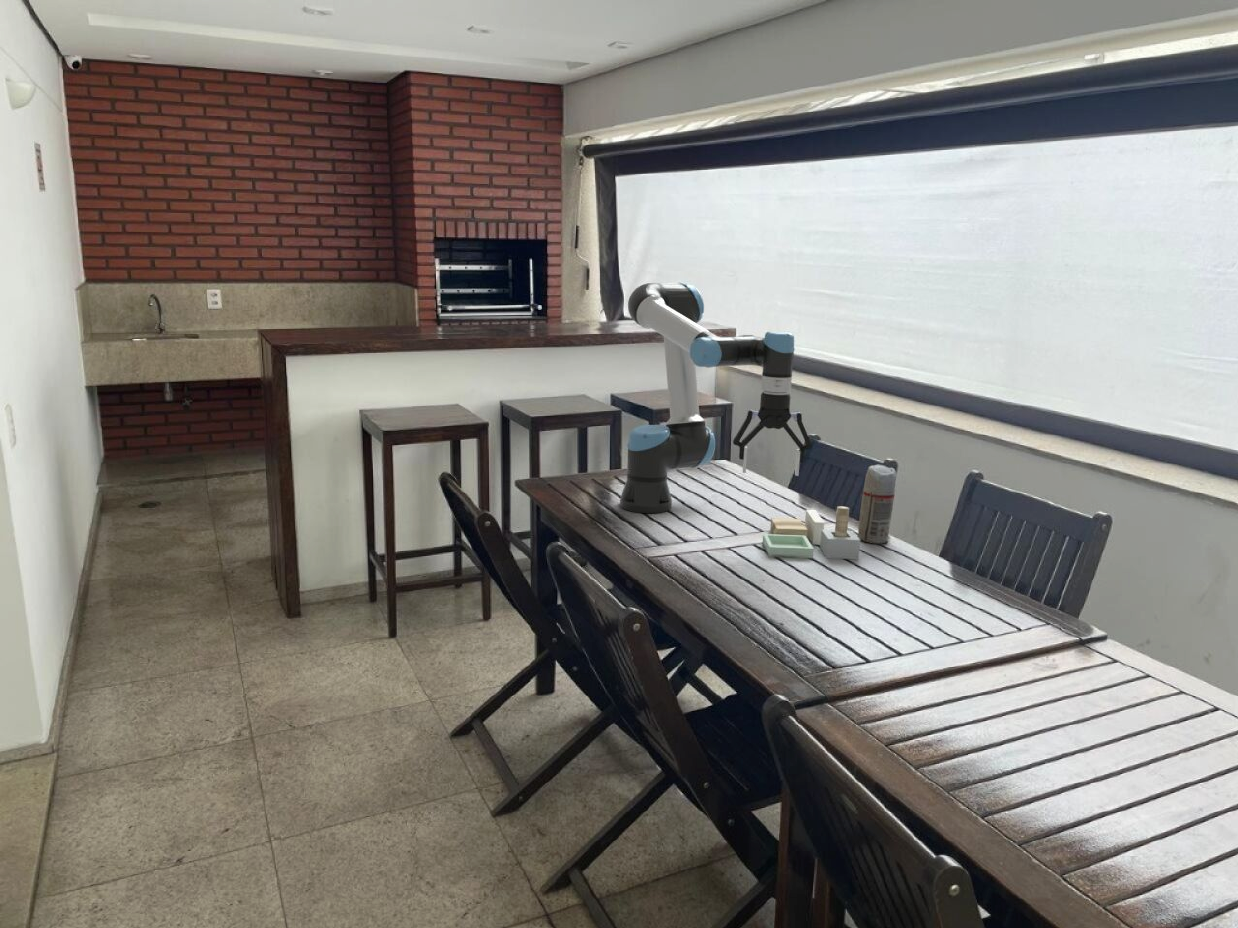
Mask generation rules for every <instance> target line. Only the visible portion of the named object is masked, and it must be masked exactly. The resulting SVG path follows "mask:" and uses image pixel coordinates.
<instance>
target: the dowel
mask: <svg viewBox="0 0 1238 928" xmlns="http://www.w3.org/2000/svg"><path fill="white" fill-rule="evenodd" d="M835 515H836V516H835V526H834V530H835V536H834V537H847V530H848V528H849V527H848V525H849V516H850V507H847V506H837V507H836V514H835Z"/></svg>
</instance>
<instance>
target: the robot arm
mask: <svg viewBox="0 0 1238 928" xmlns="http://www.w3.org/2000/svg"><path fill="white" fill-rule="evenodd" d="M627 310H628V314H629V316H630V318H631V319H632V320H633V321H634V322H635V324H636V323H637V325H639V326H641V327H642V328H644V329H647V330H648V329H652V330H653V331H655V332H657V333H658V334H659V335H661V336H662V337H663V345H664V356H665V368H666V381H667V382H666V383H667V392H668V403H669V416H670V418H669V419H667V422H666V423H665V425H664V424H663V425H662V424H647V425H646V424H645V425H641V426H638V427H637V426H636V427H634V428H633V429H632V430H631V431H630V432H629V434H628V442H627V463H626V465H627V466H626V467H627V468H626V480H625V484H624V486H623V490H622V492H621V495H620V498H619V507H620V508H621V509H623V510H627V511H628V512H633V513H640V514H659V513H665V512H668V511H670V510H672V508H673V507H672V505H673V499H672V495H671V492H670V487H669V484H668V470H678V469H688V468H691V469H692V468H693V469H694V468H697V467H702V466H705V465H707V464H708V463H709V462H710V461H711V459H712V458H713V456H714V453H715V449H716V438H715V434H714V433H713V430H712V429H711V428H710V427H708V426H706V420H705V419H704V418H703V417H702V416H701V415H700V407H699V406H700V405H699V394H698V383H697V382H698V381H697V380H698V379H697V371H696V367H700V368H708V369H709V368H715V367H716V368H717V367H719V368H720V367H731V366H732V367H735V366H756V367H762V373H761V386H760V387H761V388H760V390H761V391H762V392H761V394H760V402H759V403H760V406H759V410H758V411H756V410H753V409H751V408H749V409H748V410H747V413H746V417H745V420H744V421H743V423H742V424H741V426H740V428H739V429H738V431H737V433H736V435H735V436H734V438H733V440H732V442H733V446H737V447H739V451H738V452H739V453H738V458H739V460H742V462H743V463H742V473H743V474H745V473H746V472H747V457H748V446H747V445H748V444H749V443H750V442H751V441H752V440H753V439H754V438H755V437H756V435H758V433H759V432H761V431H762V430H763V429H764V428H766V429H768V430H769V429H770V430H771V429H775V430H780V429H782V428H783V429H784V430H785V431H786V433H787V434H788V436H789V437H790V438H791V439H792V441H793V442H794V443H795V445H796V446H797V447H798V448H796V450H795V451H796V452H795V467H794V476H796V477H799V474H800V472H799V471H800V464H802V463H804V462H805V452H806V451H807V450H809V449H812V448H813V444H812V442H811V440H810V437H809V435H808V432H807V430H806V428H805V426H804V423H803V419H802V418H803V417H802V416H803V414H802V413H801V412H800V411H796V412H791V410H790V405H791V395H790V392H791V391H792V378H793V365H794V353H795V336H794V334H793V333H792V332H789V331H776V330H775V331H770V330H769V331H767V332H765V334H764V337H763V336H762V337H761V336H755V335H752V334H741V335H739V336H718V335H716V334H714V333H713V332H711V331H709V330H708V329H706V328H704V327H703V326H701V325H700V324H698V323H699V322H700V321H701V320H702V318H703V314H704V312H705V304H704V298H703V296H702V294H701V292H700V290H699V289H698V288H697V287H696V286H694V285H692V284H691V283H683V282H682V283H681V282H671V283H670V282H667V283H666V282H662V283H661V282H660V283H659V282H658V283H656V282H655V283H654V282H649V283H648V282H647V283H643V284H641V285H640V286H637V287H636V288H634V290H633V291H632V292H631V294H630V296H629V299H628V301H627ZM756 417H758V418H759V422H758V423H757V424H756V426H755V427H753V429H752V430H751V431H749V433H748V434H747V435H746V436H745V437H744V438H742V437H743V435H744V434H745V432H746V431H747V428H749V426H750V424H751V422H752V420H754V419H755V418H756ZM791 418H792V419H793V421H795V422H796V423H797V426H798V428H799V431H800V433H801V435H802V437H803V439H804V442H805V443H804V444H803V442H802V441H801V440H800V438H799V437H798V436H797V435H796V433H795V432H794V431H793V428H791V427H790V425H789V424H788V422H789V421H790V420H791ZM741 439H742V440H741Z"/></svg>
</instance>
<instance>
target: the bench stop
mask: <svg viewBox="0 0 1238 928" xmlns="http://www.w3.org/2000/svg"><path fill="white" fill-rule="evenodd" d="M804 525H805V527H806V528H807V530H808V532H807V538H808V540H809V542H810V543H811V545H818V546H820V543H821V531H822V530H825V521H824V520H823V519H822V517H821V515H819V512H817V510H816V509H805V519H804Z"/></svg>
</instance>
